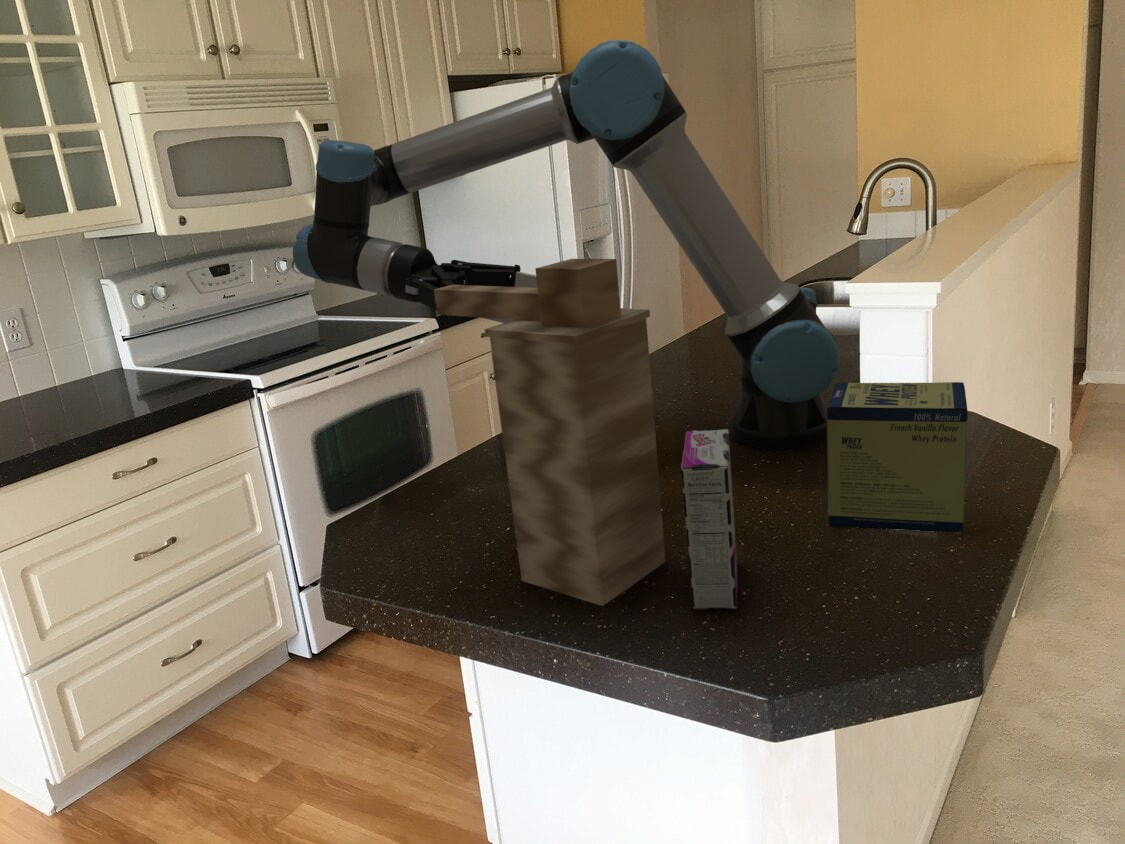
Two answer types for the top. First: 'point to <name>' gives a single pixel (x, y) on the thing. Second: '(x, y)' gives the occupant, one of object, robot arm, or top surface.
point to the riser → (580, 453)
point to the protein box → (897, 456)
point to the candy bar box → (710, 519)
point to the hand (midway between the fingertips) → (540, 302)
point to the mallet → (543, 296)
